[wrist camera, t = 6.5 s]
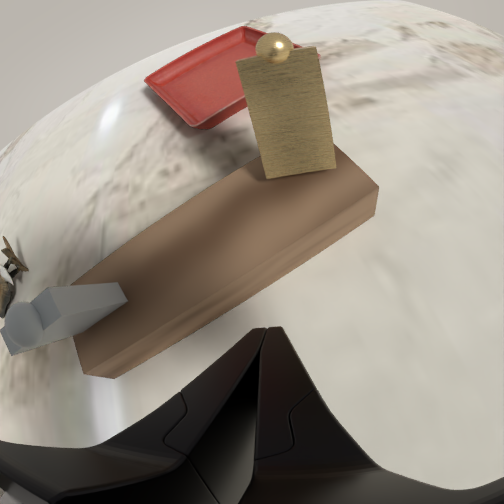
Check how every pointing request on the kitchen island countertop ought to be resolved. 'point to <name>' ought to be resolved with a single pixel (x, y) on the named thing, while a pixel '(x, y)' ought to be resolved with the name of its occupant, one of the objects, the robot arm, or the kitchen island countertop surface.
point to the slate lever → (59, 314)
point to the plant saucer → (207, 79)
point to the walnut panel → (218, 256)
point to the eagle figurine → (8, 276)
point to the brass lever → (287, 107)
